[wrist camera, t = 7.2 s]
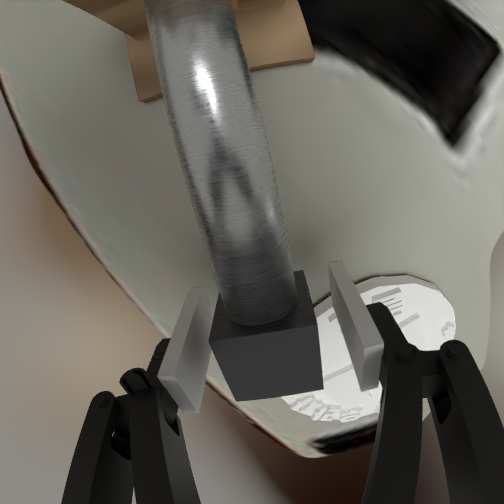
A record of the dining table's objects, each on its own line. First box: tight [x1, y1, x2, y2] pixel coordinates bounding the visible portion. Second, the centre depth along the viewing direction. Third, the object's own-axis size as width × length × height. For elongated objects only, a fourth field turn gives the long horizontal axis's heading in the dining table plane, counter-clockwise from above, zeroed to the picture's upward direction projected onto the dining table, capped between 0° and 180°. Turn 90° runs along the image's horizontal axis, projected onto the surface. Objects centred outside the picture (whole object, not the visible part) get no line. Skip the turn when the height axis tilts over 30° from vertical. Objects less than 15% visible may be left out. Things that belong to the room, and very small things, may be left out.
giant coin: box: [281, 275, 456, 422], centre depth 25 cm, size 20×20×3 cm
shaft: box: [143, 0, 324, 401], centre depth 9 cm, size 21×4×4 cm, turn 13°
